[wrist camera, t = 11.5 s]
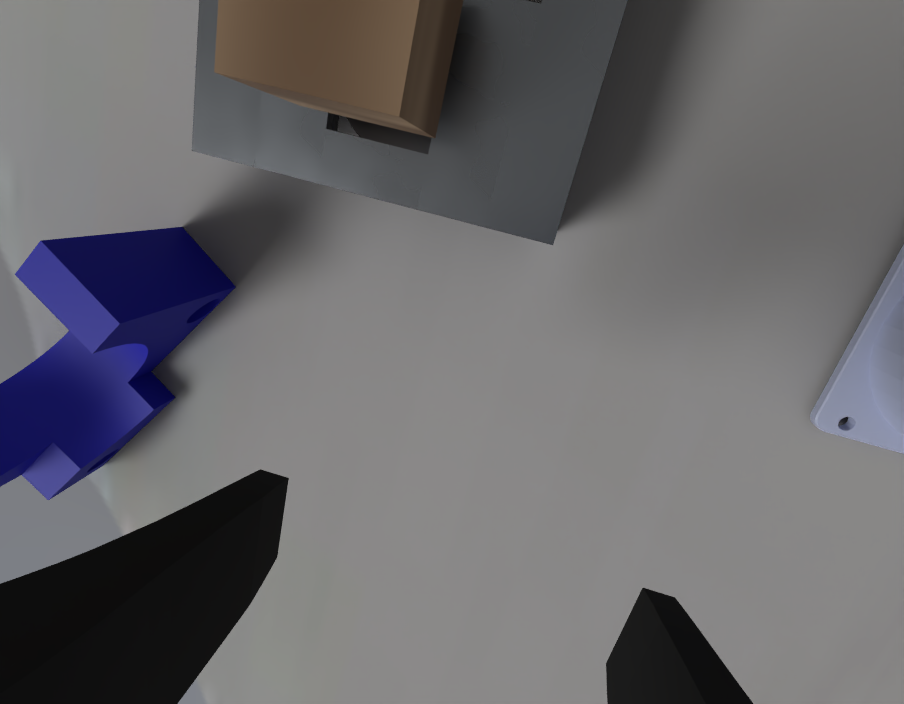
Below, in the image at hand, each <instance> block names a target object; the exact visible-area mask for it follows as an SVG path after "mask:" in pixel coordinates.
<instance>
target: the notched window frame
mask: <svg viewBox="0 0 904 704" xmlns="http://www.w3.org/2000/svg"><path fill="white" fill-rule="evenodd" d="M627 1H628V0H542V2H541V4H540V3H536V2H531V1H527V0H463V4H462V9H461V14H460V19H459V24H458V29H457V34H456V39H455V44H454V49H453V54H452V59H451V64H450V69H449V74H448V79H447V84H446V88H445V93H444V98H443V103H442V108H441V113H440V118H439V123H438V128H437V133H436V138H431V143H430V148H429V153H428V154H424V153H420V152H416V151H412V150H408V149H404V148H400V147H396V146H392V145H388V144H384V143H380V142H376V141H372V140H368V139H364V138H360V137H356V136H352V135H348V134H344V133H340V132H337V127H338V120H339V115H336V114H332V113H328V112H324V111H320V110H316V109H312V108H307V107H303V106H299V105H297V104H294V103H292V102H289V101H287V100H284V99H282V98H279V97H276V96H274V95H271V94H269V93H266V92H264V91H261V90H258V89H256V88H253V87H251V86H248V85H246V84H243V83H240V82H238V81H235V80H233V79H230V78H228V77H225V76H222V75H220V74H217V73H215V72H214V68H215V51H216V33H217V16H218V0H199V18H198V37H197V57H196V77H195V96H194V116H193V136H192V151H195V152H199V153H203V154H206V155H210V156H214V157H218V158H222V159H226V160H229V161H233V162H237V163H241V164H245V165H248V166H252V167H256V168H260V169H264V170H268V171H271V172H275V173H279V174H283V175H287V176H291V177H294V178H298V179H302V180H306V181H310V182H313V183H317V184H321V185H325V186H329V187H333V188H336V189H340V190H344V191H348V192H352V193H356V194H359V195H363V196H367V197H371V198H375V199H378V200H382V201H386V202H390V203H394V204H398V205H401V206H405V207H409V208H413V209H417V210H421V211H424V212H428V213H432V214H436V215H440V216H443V217H447V218H451V219H455V220H459V221H463V222H466V223H470V224H474V225H478V226H482V227H486V228H489V229H493V230H497V231H501V232H505V233H508V234H512V235H516V236H520V237H524V238H528V239H531V240H535V241H539V242H543V243H547V244H550V245H553V243H554V240H555V237H556V233H557V230H558V227H559V223H560V220H561V217H562V214H563V210H564V207H565V204H566V201H567V197H568V194H569V191H570V187H571V184H572V181H573V178H574V174H575V171H576V168H577V165H578V161H579V158H580V155H581V152H582V148H583V145H584V142H585V138H586V135H587V132H588V129H589V125H590V122H591V119H592V116H593V112H594V109H595V106H596V102H597V99H598V96H599V93H600V89H601V86H602V83H603V80H604V76H605V73H606V70H607V67H608V63H609V60H610V57H611V53H612V50H613V47H614V44H615V40H616V37H617V34H618V31H619V27H620V24H621V21H622V17H623V14H624V11H625V8H626V4H627Z"/></svg>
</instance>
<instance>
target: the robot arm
mask: <svg viewBox="0 0 904 704" xmlns="http://www.w3.org/2000/svg"><path fill="white" fill-rule="evenodd" d="M844 417H849V418H848V421H847V422H846V423H845V424H843V425H841V426H838V423H839V421H840V420H841V419H842V418H844ZM810 418H811V422H812V423H813V424H814V425H815V426H816V427H817V428H818V429H820V430H822V431H824V432H827V433H831V434H835V435H838V436H842V437H845V438H849V439H853V440H856V441H860V442H863V443H867V444H870V445H874V446H878V447H881V448H885V449H888V450H892V451H896V452H899V453H903V454H904V244H903V246H902V248H901V250H900V252H899V254H898V255H897V257H896V259H895V261H894V263H893V264H892V266H891V268H890V270H889V272H888V274H887V275H886V277H885V279H884V281H883V283H882V284H881V286H880V288H879V290H878V292H877V294H876V295H875V297H874V299H873V301H872V303H871V304H870V306H869V308H868V310H867V312H866V314H865V315H864V317H863V319H862V321H861V323H860V324H859V326H858V328H857V330H856V332H855V334H854V335H853V337H852V339H851V341H850V343H849V344H848V346H847V348H846V350H845V352H844V354H843V355H842V357H841V359H840V361H839V363H838V364H837V366H836V368H835V370H834V372H833V374H832V375H831V377H830V379H829V381H828V383H827V384H826V386H825V388H824V390H823V392H822V394H821V395H820V397H819V399H818V401H817V403H816V404H815V406H814V408H813V410H812V412H811V415H810ZM288 479H289V478H286V477H283V476H280V475H277V474H273V473H270V472H267V471H264V470H258V471H256V472H254V473H252V474H250V475H248V476H246V477H244V478H242V479H240V480H238V481H236V482H234V483H232V484H230V485H228V486H226V487H224V488H222V489H220V490H219V491H217V492H215V493H213V494H211V495H209V496H207V497H205V498H203V499H201V500H199V501H197V502H195V503H193V504H191V505H189V506H187V507H185V508H183V509H180V510H178V511H176V512H174V513H172V514H170V515H168V516H166V517H164V518H162V519H160V520H158V521H156V522H154V523H151V524H149V525H147V526H144V527H142V528H140V529H138V530H135V531H133V532H131V533H129V534H126V535H124V536H122V537H120V538H118V539H115V540H113V541H111V542H108V543H106V544H104V545H102V546H99V547H97V548H95V549H92V550H90V551H87V552H85V553H82V554H80V555H77V556H75V557H72V558H70V559H67V560H65V561H62V562H60V563H57V564H54V565H51V566H49V567H46V568H43V569H41V570H38V571H35V572H32V573H30V574H27V575H24V576H21V577H19V578H16V579H13V580H10V581H7V582H4V583H1V584H0V704H178V702H179V701H180V699H181V698H182V697H183V695H184V694H185V693H186V691H187V690H188V689H189V687H190V686H191V684H192V683H193V682H194V680H195V679H196V678H197V676H198V675H199V674H200V672H201V671H202V670H203V668H204V667H205V666H206V664H207V663H208V661H209V660H210V659H211V657H212V656H213V655H214V653H215V652H216V651H217V649H218V648H219V647H220V645H221V644H222V642H223V641H224V640H225V638H226V637H227V636H228V634H229V633H230V631H231V630H232V629H233V627H234V626H235V625H236V623H237V622H238V620H239V619H240V618H241V616H242V615H243V614H244V612H245V611H246V609H247V608H248V607H249V605H250V603H251V602H252V600H253V598H254V597H255V595H256V593H257V592H258V590H259V588H260V587H261V585H262V583H263V581H264V580H265V578H266V576H267V574H268V573H269V571H270V569H271V567H272V565H273V564H274V562H275V560H276V558H277V555H278V548H279V541H280V534H281V527H282V520H283V513H284V506H285V499H286V493H287V486H288ZM606 672H607V699H608V704H753V703H752V701H751V700H750V699H749V697H748V696H747V695H746V693H745V692H744V691H743V689H742V688H741V687H740V685H739V684H738V682H737V681H736V680H735V678H734V677H733V676H732V674H731V673H730V672H729V670H728V669H727V667H726V666H725V665H724V663H723V662H722V661H721V659H720V658H719V656H718V655H717V654H716V652H715V651H714V650H713V648H712V647H711V645H710V644H709V643H708V641H707V640H706V639H705V637H704V636H703V634H702V633H701V632H700V630H699V629H698V628H697V626H696V625H695V623H694V622H693V621H692V619H691V618H690V617H689V615H688V614H687V613H686V611H685V610H684V609H683V607H682V606H681V605H680V604H679V602H678V601H677V600H676V599H675V597H671V596H668V595H665V594H662V593H658V592H655V591H652V590H649V589H645V588H642V590H641V592H640V595H639V597H638V599H637V601H636V603H635V605H634V607H633V609H632V611H631V613H630V615H629V617H628V619H627V621H626V623H625V626H624V628H623V630H622V632H621V634H620V636H619V638H618V640H617V642H616V644H615V646H614V648H613V650H612V652H611V654H610V656H609V659H608V661H607V663H606Z"/></svg>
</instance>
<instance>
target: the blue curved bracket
mask: <svg viewBox="0 0 904 704" xmlns="http://www.w3.org/2000/svg"><path fill="white" fill-rule="evenodd" d="M15 275H16V276H17V277H18V278H19V279H20V280H21V281H22V282H23V283H24V284H25V285H26V286H27V288H28V289H29V290H30V291H31V292H32V293H33V294H34V295H35V296H36V297H37V298H38V299H39V300H40V301H41V302H42V303H43V304H44V305H45V306H46V307H47V308H48V309H49V310H50V311H51V312H52V313H53V314H54V315H55V316H56V317H57V318H58V319H59V320H60V321H61V322H62V323H63V324H64V325H65V326H66V327H67V328H68V329H69V332H68V333H67V334H66V335H65V336H64V337H63V338H62V339H61V340H59V341H58V342H57V343H56V344H55V345H54V346H53V347H52V348H50V349H49V350H48V351H47V352H46V353H44V354H43V355H42V356H40V357H39V358H38V359H36V360H35V361H34V362H32V363H31V364H30V365H28V366H27V367H25V368H24V369H23V370H21V371H20V372H18V373H17V374H15V375H14V376H12V377H11V378H9V379H7V380H6V381H4V382H3V383H1V384H0V486H2V485H4V484H6V483H7V482H9V481H11V480H13V479H15V478H16V477H18V476H20V475H22V476H23V477H24V478H25V479H26V480H28V481H29V482H30V483H31V484H32V485H33V486H34V487H35V488H36V489H37V490H38V491H39V492H40V493H41V494H42V495H43V496H44V497H45V498H46V499H47V500H50V499H51V498H52V497H54V496H56V495H57V494H59V493H60V492H62V491H64V490H65V489H67V488H68V487H70V486H72V485H73V484H75V483H76V482H78V481H79V480H81V479H83V478H84V477H86V476H87V475H89V474H90V473H92V472H94V471H95V470H97V469H98V468H100V467H102V466H103V465H104V464H105V463H106V462H107V461H108V460H109V459H110V458H112V457H113V456H114V455H115V454H116V453H117V452H118V451H119V450H120V449H121V448H122V447H123V446H124V445H125V444H126V443H127V442H129V441H130V440H131V439H132V438H133V437H134V436H135V435H136V434H137V433H138V432H139V431H140V430H141V429H142V428H143V427H144V426H146V425H147V424H148V423H149V422H150V421H151V420H152V419H153V418H154V417H155V416H156V415H157V414H158V413H159V412H160V411H161V410H163V409H164V408H165V407H166V406H167V405H168V404H169V403H170V402H171V401H172V400H173V399H174V398H175V396H174V395H173V394H172V393H171V392H170V391H169V390H168V389H167V388H166V387H165V386H164V385H163V384H162V383H161V382H160V381H159V380H158V379H157V378H156V376H155V375H154V374H153V373H152V372H151V371H152V370H153V369H154V368H155V367H156V366H157V365H158V364H159V363H160V362H161V361H162V360H163V359H164V358H165V357H166V356H167V355H168V354H169V353H170V352H171V351H172V350H173V349H174V348H175V347H176V346H177V345H178V344H179V343H180V342H181V341H182V340H183V339H184V338H185V337H186V336H187V335H188V334H189V333H190V332H191V331H192V330H193V329H194V328H195V327H196V326H197V325H198V324H199V323H200V322H201V321H202V320H203V319H204V318H205V317H206V316H207V315H208V314H209V313H210V312H211V311H212V310H213V309H214V308H215V307H216V306H217V305H218V304H219V303H220V302H221V301H222V300H223V299H224V298H225V297H226V296H227V295H228V294H229V293H230V292H231V291H232V290H233V289H234V288H235V285H234V284H233V283H232V282H231V281H230V280H229V279H228V278H227V276H226V275H225V274H224V273H223V272H222V271H221V270H220V269H219V268H218V266H217V265H216V264H215V263H214V262H213V261H212V260H211V259H210V257H209V256H208V255H207V254H206V253H205V252H204V251H203V250H202V249H201V247H200V246H199V245H198V244H197V243H196V242H195V241H194V240H193V239H192V237H191V236H190V235H189V234H188V233H187V232H186V231H185V230H184V228H183V227H177V228H166V229H156V230H146V231H135V232H125V233H115V234H105V235H94V236H84V237H74V238H64V239H53V240H43V241H40V242H39V243H38V245H37V246H36V247H35V249H34V250H33V251H32V253H31V254H30V255H29V257H28V258H27V259H26V261H25V262H24V263H23V264H22V266H21V267H20V268H19V270H18V271H17V272H16V274H15Z"/></svg>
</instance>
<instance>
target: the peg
mask: <svg viewBox="0 0 904 704" xmlns="http://www.w3.org/2000/svg"><path fill="white" fill-rule="evenodd" d="M462 4H463V0H218V16H217V33H216V51H215V68H214V72H215V73H217V74H220V75H222V76H225V77H228V78H230V79H233V80H235V81H238V82H240V83H243V84H246V85H248V86H251V87H253V88H256V89H258V90H261V91H264V92H266V93H269V94H271V95H274V96H276V97H279V98H282V99H284V100H287V101H289V102H292V103H294V104H297V105H299V106H303V107H307V108H312V109H316V110H320V111H324V112H328V113H332V114H336V115H340V116H345V117H347V119H348V121H349V122H350V124H351V126H352V127H353V129H354V130H355V132H356V133H357V134H358V135H359V136H360V137H361V138H364V139H368V140H372V141H376V142H380V143H384V144H388V145H392V146H396V147H400V148H404V149H408V150H412V151H416V152H420V153H424V154H428V153H429V148H430V143H431V138H436V133H437V128H438V123H439V118H440V113H441V108H442V103H443V98H444V93H445V88H446V84H447V79H448V74H449V69H450V64H451V59H452V54H453V49H454V44H455V39H456V34H457V29H458V24H459V19H460V14H461V9H462Z"/></svg>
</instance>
